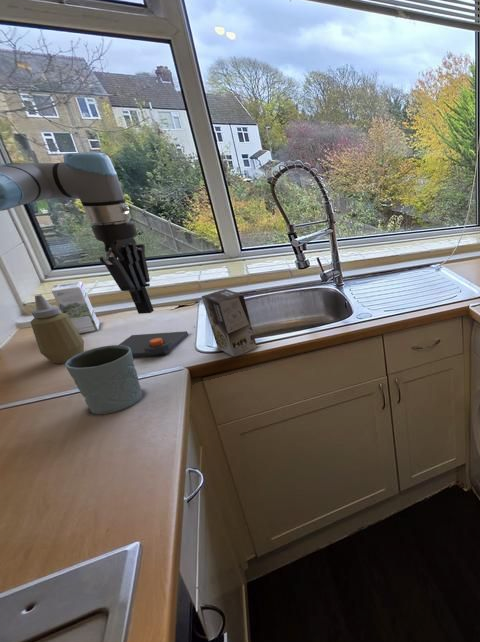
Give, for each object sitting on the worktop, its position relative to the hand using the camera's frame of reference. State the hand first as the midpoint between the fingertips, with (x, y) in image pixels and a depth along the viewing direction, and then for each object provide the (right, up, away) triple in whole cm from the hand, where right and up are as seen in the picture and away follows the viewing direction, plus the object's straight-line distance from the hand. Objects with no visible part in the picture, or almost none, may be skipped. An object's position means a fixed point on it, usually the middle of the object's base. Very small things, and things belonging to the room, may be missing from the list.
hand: (146, 312), depth 105 cm
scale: (-6, -10, +8) cm, 14 cm away
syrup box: (-33, -6, +16) cm, 37 cm away
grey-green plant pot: (+7, -20, -15) cm, 26 cm away
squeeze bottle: (-22, -12, +2) cm, 26 cm away
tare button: (0, -9, +4) cm, 10 cm away
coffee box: (+18, -10, +8) cm, 23 cm away
